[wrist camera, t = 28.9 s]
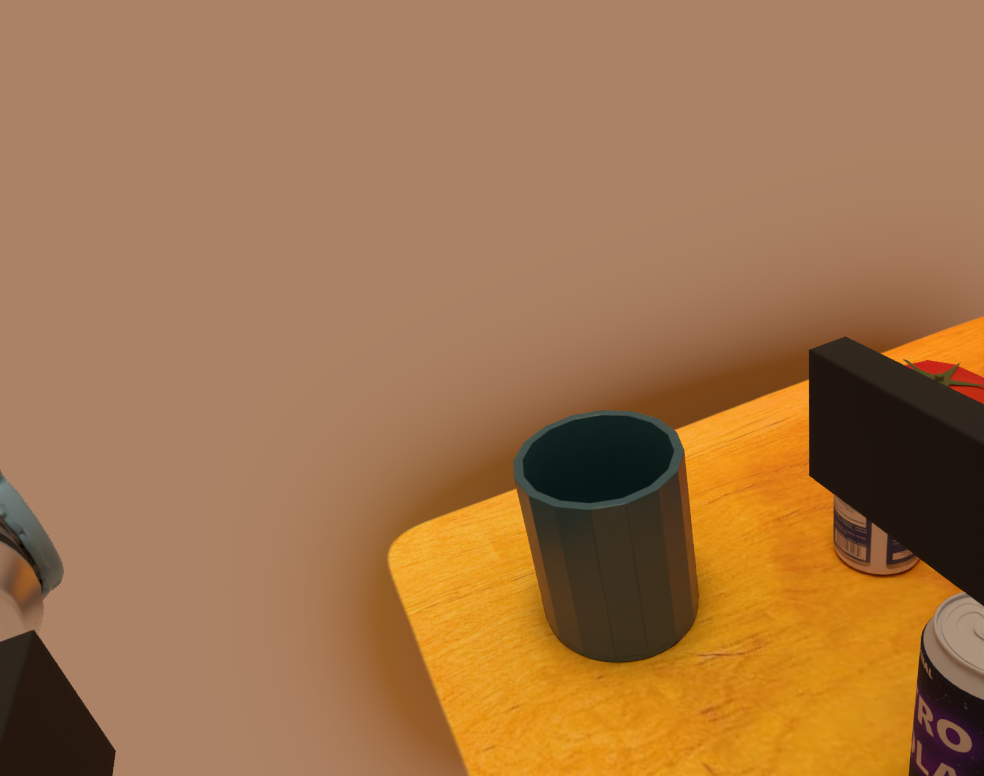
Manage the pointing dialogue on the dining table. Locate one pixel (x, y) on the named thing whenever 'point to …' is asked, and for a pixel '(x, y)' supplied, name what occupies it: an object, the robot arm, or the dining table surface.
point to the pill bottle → (867, 543)
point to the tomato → (952, 377)
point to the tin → (610, 532)
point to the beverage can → (950, 692)
